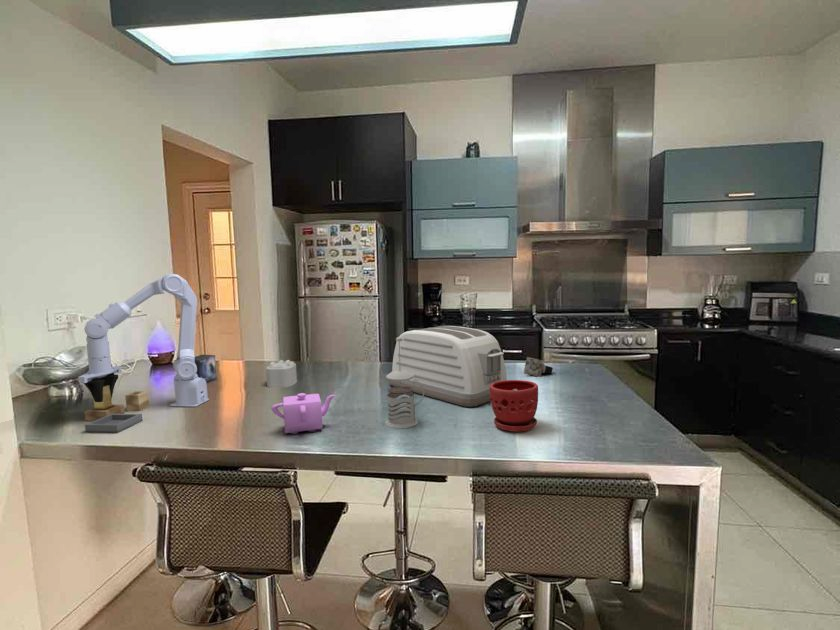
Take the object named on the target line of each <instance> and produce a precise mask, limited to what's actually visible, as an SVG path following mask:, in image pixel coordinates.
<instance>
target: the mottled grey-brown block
mask: <svg viewBox="0 0 840 630" xmlns="http://www.w3.org/2000/svg"><path fill="white" fill-rule="evenodd" d="M553 370H554V369H553V366H548V365H545V361H544V360H542V359H538V358H533V357H528V356H527V357H526V360H525V364H524V370H523V374H524V375H529V376H533V377H538V378H540V377H542V374H552V373H553Z"/></svg>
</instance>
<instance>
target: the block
mask: <svg viewBox="0 0 840 630" xmlns="http://www.w3.org/2000/svg"><path fill="white" fill-rule="evenodd" d="M148 391H149V390H148ZM148 391H142V390H141V391H140V390H139V391H136V390H135V391H132V392H130V393H128V394H125V396H124V397H125V406H126V412H127V411H140V412H142V411H144V410H143V409H145V410H147V409H149V408H150V403H149V402H150V399H149V392H148ZM148 407H149V408H148ZM146 408H147V409H146ZM141 410H142V411H141Z"/></svg>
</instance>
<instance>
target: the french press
mask: <svg viewBox="0 0 840 630" xmlns="http://www.w3.org/2000/svg"><path fill="white" fill-rule="evenodd" d="M395 341H396V342H397V341H399V365H400V341H402V338H401V337H399V336H398V337H396V338H395ZM413 377H414V374H412V373H411V372H408V371H406V370H396V371H393V372H392V371H391V372H390V373H388V374H387V375H386V376H385V378H386V379H387V380H388V381H389V380H393V381H400V386H396V387H394V386H392V387H390V388H389V389H387V392H388V393H387V397H386V398H387V419H386V420H385V421H384V425H385V426H387V427H389V428H393V429H394V428H395V429H405V428H406V429H408V428H411V427H414V426H416V425H418V423H419V420H418V418H417V417H416V407H417V406H418V405H420V404H421V403H423V400H424V397H425V395H424V388H423V386H422V384H421V383H420V382H419V381H418V382H419V383H420V384H421V385H420V384H419V383H418V382H416V381H417V380H416V381H415V380H414V381H413V385H414V382H416V383H418V384H419V385H420V386H421V388H422V390H423V395H422V397H421V399H420V400H419V401H417V402H415V392H412V391H413V389H412V388H411V387H402V386H401V381H404V380H410V379H412V378H413ZM405 395H406V396H405ZM407 396H409V397H407Z"/></svg>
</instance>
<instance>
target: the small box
mask: <svg viewBox="0 0 840 630" xmlns="http://www.w3.org/2000/svg"><path fill="white" fill-rule="evenodd" d="M195 364H196V366H197V372H196V374H197V375H198V377H199V378H203V379H205V381H206V384H209V383H211V382H213V381H216V380H217V379H218V378H217V365H216V364H217V363H216V355H215V354H199V355H197V356H195Z"/></svg>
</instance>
